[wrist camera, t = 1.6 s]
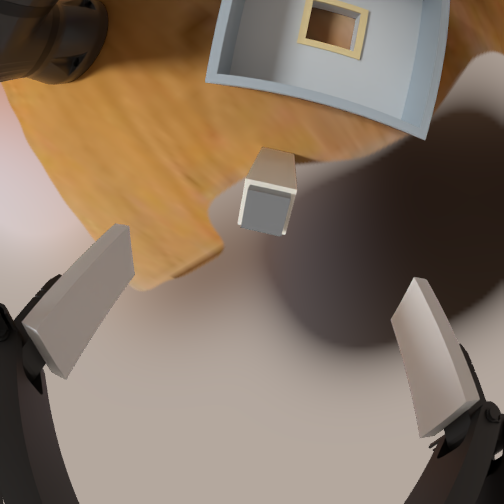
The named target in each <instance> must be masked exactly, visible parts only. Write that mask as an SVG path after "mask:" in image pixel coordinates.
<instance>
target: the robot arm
mask: <svg viewBox="0 0 504 504" xmlns="http://www.w3.org/2000/svg"><path fill="white" fill-rule="evenodd" d="M107 28H108V15H107V11H106V8H105V6H104V5H103V4H102V2H100V1H99V0H0V82H3V81H8V80H13V79H18V78H24V77H28V78H31V79H34V80H37V81H40V82H43V83H46V84H63V83H68V82H70V81H73V80H75V79H76V78H78V77H79V76H81V75H82V74H83V73H84V72H85V71H86V70H87V69H88V68H89V67H90V66H91V64H92V63H93V62H94V60H95V59H96V57H97V56H98V54H99V52H100V50H101V48H102V46H103V43H104V40H105V37H106V33H107ZM134 275H135V272H134V265H133V257H132V249H131V240H130V230H129V226H127V225H121V224H114V225H113V226H112V227H111V228H110V229H109V230H108V231H107V232H106V233H104V234H103V235H102V236H101V237H100V238H99V239H98V240H97V241H96V242H95V243H94V244H93V245H92V246H91V247H90V248H89V249H88V250H87V251H86V252H85V253H84V254H83V255H82V256H81V257H80V258H79V259H78V260H77V261H76V262H75V263H74V264H73V265H72V266H71V267H70V268H69V269H68V270H67V271H66V272H65V273H64V274H63V275H60V274H59V275H57V276H55V277H54V278H52V279H50V280H49V281H48V282H47V283H46V284H45V285H44V286H43V287H42V288H41V291H39V292H38V293H37V294H36V295H35V297H33V298H32V299H31V301H30V302H29V303H28V304H27V306H25V308H24V309H23V310H22V311H21V312H20V314H19V315H18V316H17V317H16V318H15V320H14V321H13V319H12V317H11V316H10V314H9V312H8V310H7V308H6V307H5V305H4V304H1V303H0V504H3V500H4V503H5V504H79V502H78V500H77V497H76V495H75V492H74V490H73V487H72V484H71V482H70V479H69V476H68V473H67V471H66V468H65V464H64V461H63V458H62V455H61V451H60V448H59V444H58V440H57V437H56V433H55V428H54V424H53V419H52V415H51V410H50V404H49V399H48V393H47V386H46V379H45V373H44V370H43V369H42V368H43V366H44V365H45V364H47V366H48V367H49V369H50V370H51V372H52V373H54V374H56V375H58V376H60V377H62V378H64V379H67V378H68V375H69V374H70V372H71V371H72V369H73V367H74V366H75V364H76V362H77V361H78V359H79V357H80V356H81V354H82V352H83V350H84V349H85V347H86V346H87V344H88V343H89V341H90V340H91V338H92V336H93V335H94V333H95V332H96V330H97V329H98V327H99V326H100V324H101V323H102V321H103V319H104V318H105V316H106V315H107V314H108V312H109V311H110V309H111V308H112V306H113V305H114V303H115V302H116V300H117V299H118V298H119V296H120V295H121V293H122V292H123V290H124V289H125V287H126V286H127V285H128V283H129V282H130V281H131V279H132V278H133V276H134ZM391 322H392V325H393V329H394V332H395V335H396V338H397V342H398V345H399V349H400V352H401V355H402V359H403V363H404V366H405V370H406V374H407V378H408V383H409V387H410V391H411V395H412V399H413V404H414V409H415V414H416V419H417V424H418V430H419V436H420V438H424V437H430V436H435V435H436V434H437V433H439V432H440V431H442V430H443V429H444V431H445V435H443V436H442V437H440V438H439V439H437V440H436V441H434V442H433V443H431V444H430V446H429V448H432V447H433V446H435V445H436V444H437V446H436V448H434V449H433V451H434V453H433V455H432V457H431V459H430V460H429V462H428V464H427V466H426V468H425V470H424V472H423V473H422V476H421V477H420V479H419V480H418V482H417V484H416V485H415V487H414V489H413V491H412V492H411V493H410V495H409V497H408V498H407V500H406V501H405V503H404V504H504V414H501V413H500V410H499V408H498V407H497V406H496V405H495V404H494V403H493V402H486V400H485V397H484V394H483V391H482V388H481V385H480V383H479V380H478V377H477V375H476V373H475V372H474V371H475V370H474V367H473V365H472V364H471V363H472V362H471V360H470V358H469V355H468V353H467V351H466V350H465V349H464V347H463V346H462V345H461V344H459V343H458V341H457V339H456V336H455V335H454V332H453V330H452V328H451V326H450V324H449V321H448V319H447V317H446V315H445V314H444V311H443V309H442V307H441V306H440V304H439V302H438V300H437V298H436V296H435V294H434V292H433V290H432V288H431V287H430V285H429V283H428V281H427V280H426V279H421V278H416V277H414V278H413V280H412V282H411V284H410V286H409V288H408V290H407V292H406V294H405V295H404V297H403V299H402V301H401V303H400V304H399V306H398V308H397V310H396V312H395V313H394V315H393V317H392V318H391ZM501 450H503V454H502V456H501V457H500V458H498V459H496V460H495V459H494V455H495V454H497V453H498V452H500V451H501Z"/></svg>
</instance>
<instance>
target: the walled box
mask: <svg viewBox="0 0 504 504" xmlns="http://www.w3.org/2000/svg"><path fill="white" fill-rule="evenodd" d="M312 7H314V8H319V9H323V10H327V11H330V12H334V13H338V14H341V15H345V16H348V17H351V18H354V19H356V21H355V26H354V31H353V36H352V41H351V46H350V50H347V49H344V48H341V47H338V46H334V45H331V44H327V43H323V42H319V41H315V40H311V39H307V38H306V33H307V28H308V23H309V19H310V14H311V9H312ZM449 10H450V0H222V2H221V6H220V10H219V15H218V19H217V23H216V28H215V33H214V37H213V42H212V47H211V52H210V57H209V63H208V68H207V74H206V79H205V82H206V83H213V84H219V85H226V86H233V87H240V88H247V89H253V90H259V91H265V92H270V93H275V94H280V95H285V96H290V97H294V98H299V99H303V100H307V101H311V102H315V103H319V104H322V105H326V106H330V107H333V108H337V109H340V110H343V111H347V112H350V113H353V114H356V115H359V116H362V117H365V118H368V119H371V120H374V121H376V122H379V123H382V124H384V125H387V126H390V127H392V128H395V129H397V130H400V131H403V132H405V133H408V134H411V135H413V136H416V137H418V138H421V139H423V140H425V139H426V136H427V132H428V129H429V125H430V121H431V118H432V114H433V110H434V106H435V101H436V97H437V93H438V88H439V83H440V78H441V73H442V67H443V61H444V55H445V48H446V41H447V32H448V22H449Z"/></svg>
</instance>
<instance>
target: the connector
mask: <svg viewBox="0 0 504 504" xmlns="http://www.w3.org/2000/svg"><path fill="white" fill-rule="evenodd" d="M296 192H297V181H296V169H295V157H294V154H292V153H288V152H284V151H279V150H274V149H270V148H265V147H262V148H261V150H260V152H259V154H258V156H257V158H256V160H255V162H254V163H253V165H252V167H251V169H250V171H249V173H248V175H247V177H246V179H245V185H244V190H243V196H242V201H241V207H240V213H239V218H238V225H241V228H245V229H249V230H254V231H258V232H263V233H268V234H272V235H276V236H281V235H282V234H284V235H285V234H286V230H287V226H288V223H289V219H290V215H291V212H292V208H293V204H294V200H295V196H296Z"/></svg>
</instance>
